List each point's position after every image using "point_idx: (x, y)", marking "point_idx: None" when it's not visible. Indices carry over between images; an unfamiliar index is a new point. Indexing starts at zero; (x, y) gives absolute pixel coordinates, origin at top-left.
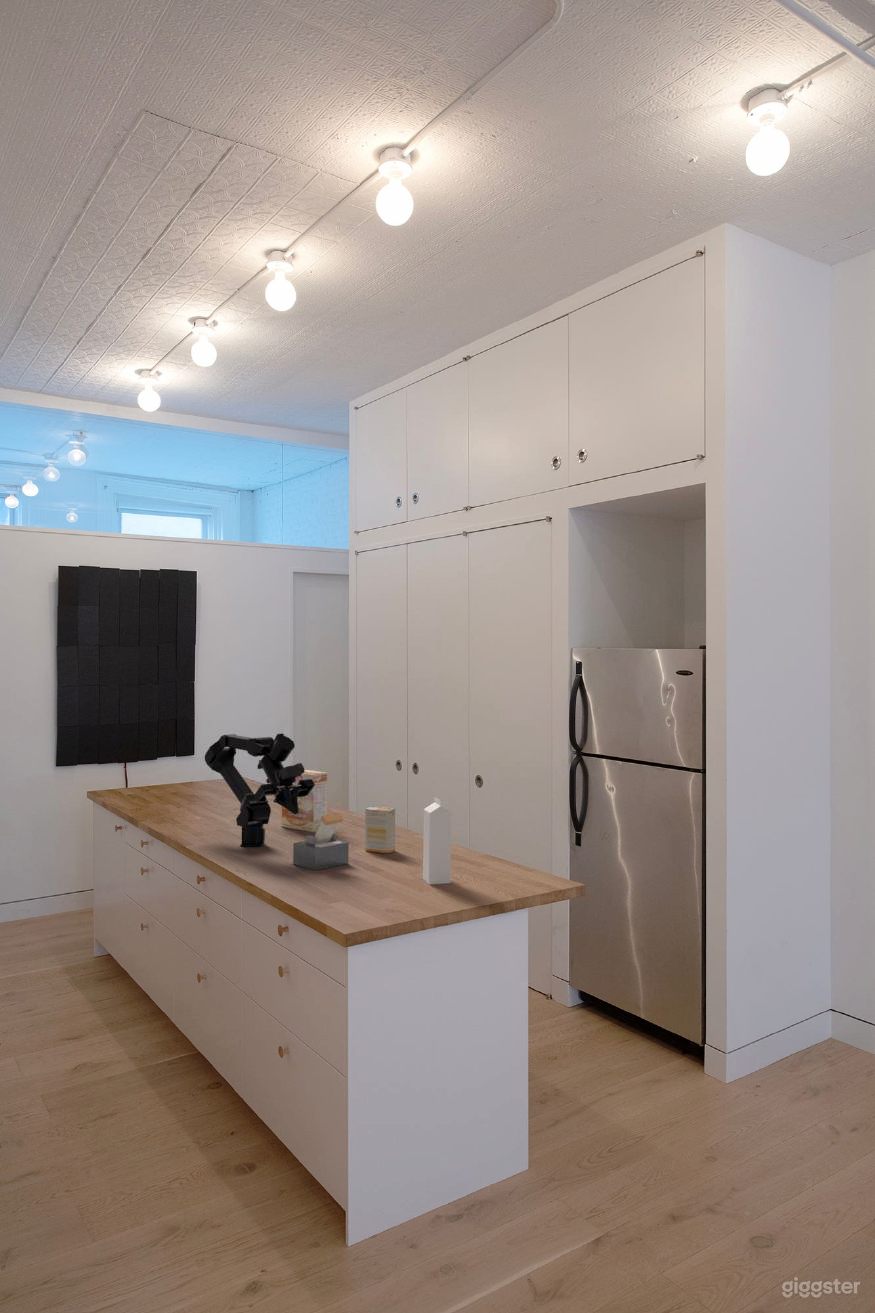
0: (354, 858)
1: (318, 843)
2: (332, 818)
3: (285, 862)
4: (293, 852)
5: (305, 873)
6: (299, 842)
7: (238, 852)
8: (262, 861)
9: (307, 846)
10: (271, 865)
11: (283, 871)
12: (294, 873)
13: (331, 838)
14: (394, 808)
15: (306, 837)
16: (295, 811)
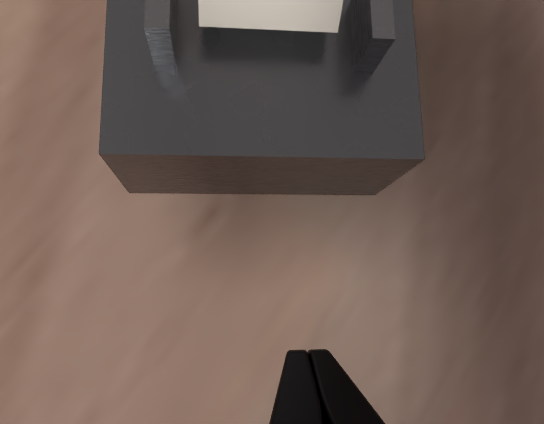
0: (20, 64)
1: (291, 31)
2: None
3: (382, 263)
4: (399, 175)
5: (428, 11)
6: (376, 148)
7: None
8: (472, 377)
9: (405, 15)
10: (478, 259)
11: (491, 113)
12: (469, 47)
13: (174, 3)
14: None
15: (390, 42)
16: (334, 365)
